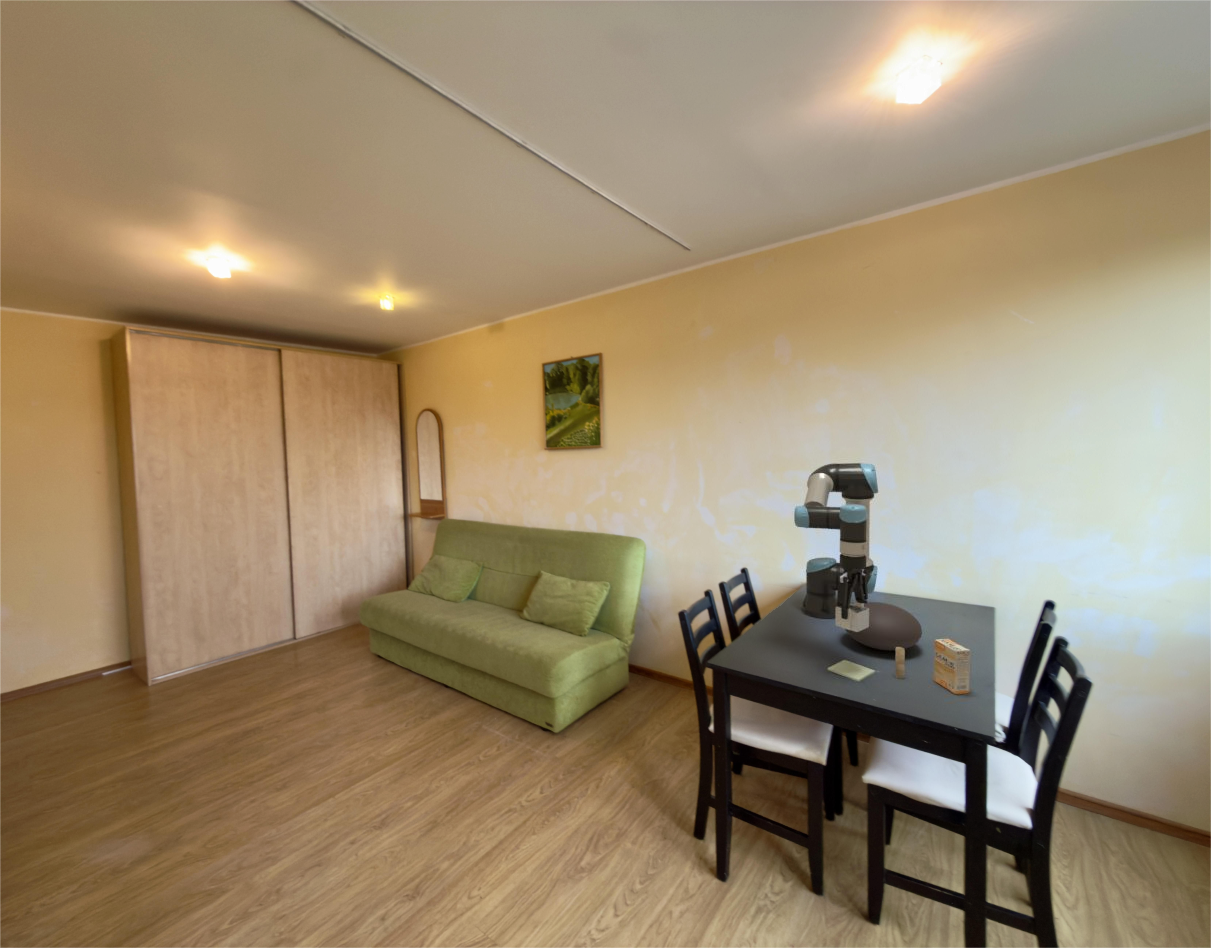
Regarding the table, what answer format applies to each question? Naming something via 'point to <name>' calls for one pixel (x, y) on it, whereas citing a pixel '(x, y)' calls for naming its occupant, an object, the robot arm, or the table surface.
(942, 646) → the supplement box
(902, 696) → the table surface
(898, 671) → the dowel
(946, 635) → the table surface
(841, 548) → the robot arm
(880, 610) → the flattened ellipsoid
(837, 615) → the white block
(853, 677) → the mat
